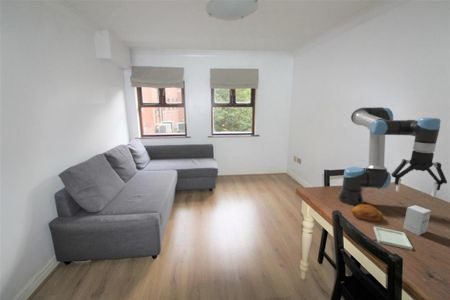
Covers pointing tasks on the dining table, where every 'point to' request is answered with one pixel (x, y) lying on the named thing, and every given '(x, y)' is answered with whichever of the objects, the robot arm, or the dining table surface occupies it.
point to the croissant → (367, 212)
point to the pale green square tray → (392, 238)
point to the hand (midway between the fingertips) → (414, 193)
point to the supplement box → (417, 219)
